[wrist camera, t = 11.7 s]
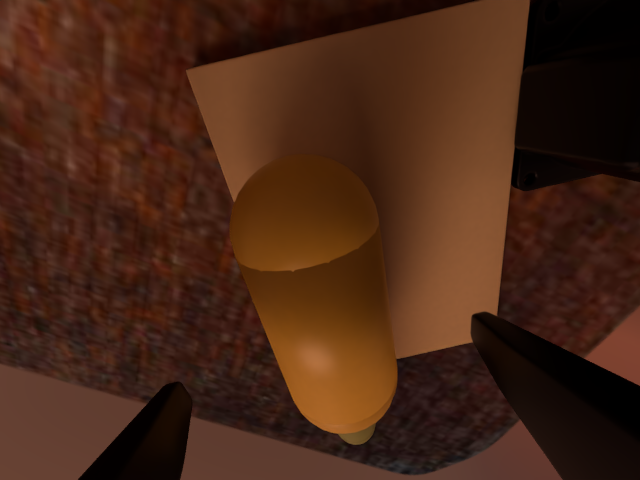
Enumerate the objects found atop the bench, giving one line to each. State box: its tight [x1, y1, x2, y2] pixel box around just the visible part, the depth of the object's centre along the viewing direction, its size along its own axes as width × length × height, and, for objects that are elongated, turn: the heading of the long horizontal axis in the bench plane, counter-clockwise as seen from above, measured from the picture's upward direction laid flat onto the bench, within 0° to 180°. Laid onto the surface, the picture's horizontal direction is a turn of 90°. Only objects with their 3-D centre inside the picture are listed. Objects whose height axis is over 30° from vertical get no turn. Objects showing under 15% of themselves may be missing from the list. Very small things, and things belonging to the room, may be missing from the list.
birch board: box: [186, 0, 530, 359], centre depth 12 cm, size 11×15×1 cm
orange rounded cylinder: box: [230, 154, 397, 445], centre depth 11 cm, size 14×5×5 cm, turn 12°
